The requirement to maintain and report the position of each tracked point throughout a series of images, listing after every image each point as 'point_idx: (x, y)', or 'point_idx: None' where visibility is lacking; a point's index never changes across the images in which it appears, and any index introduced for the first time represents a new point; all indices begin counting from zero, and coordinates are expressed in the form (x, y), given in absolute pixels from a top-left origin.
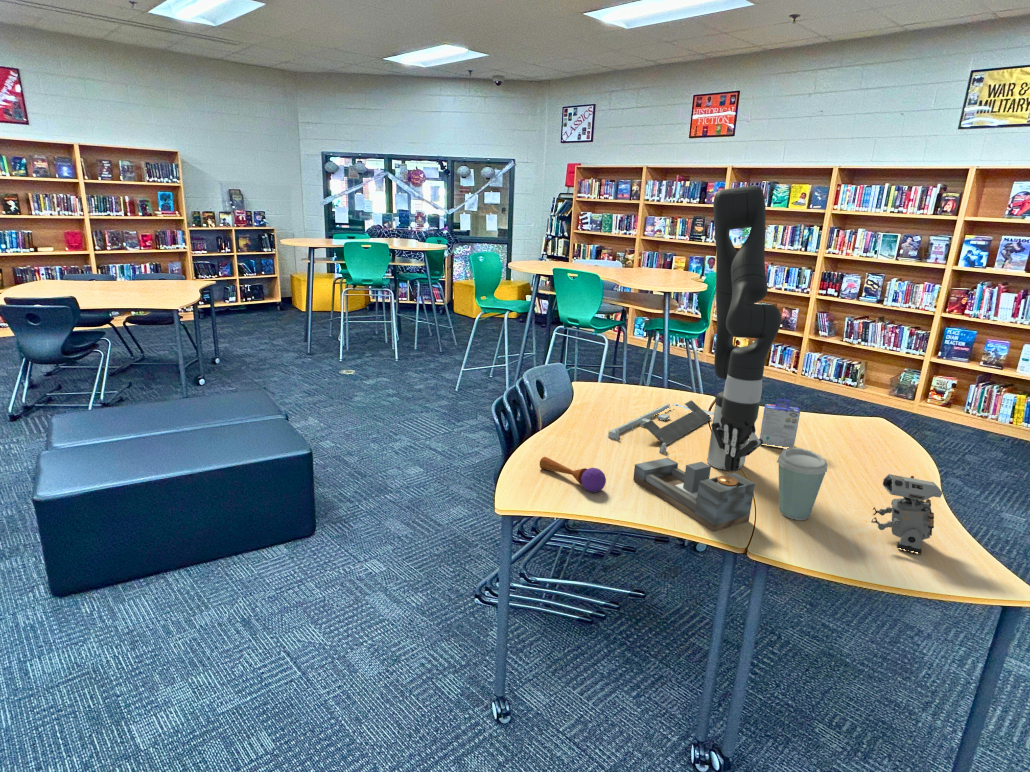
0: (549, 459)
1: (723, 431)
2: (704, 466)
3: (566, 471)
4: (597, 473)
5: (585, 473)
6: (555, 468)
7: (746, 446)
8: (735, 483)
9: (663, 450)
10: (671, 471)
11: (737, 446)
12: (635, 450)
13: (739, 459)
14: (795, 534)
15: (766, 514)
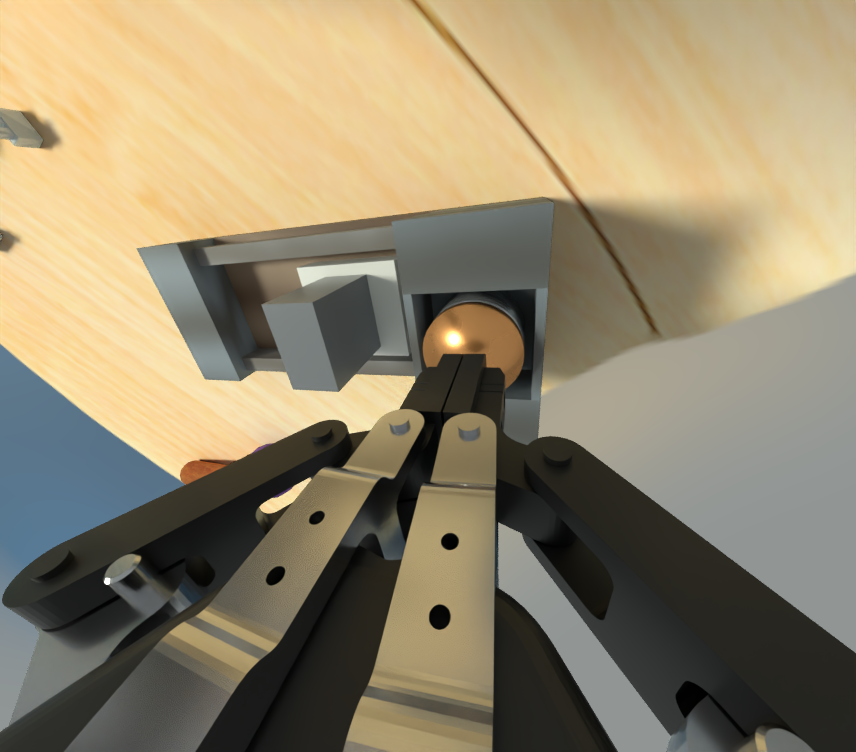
0: (191, 480)
1: (195, 548)
2: (310, 331)
3: None
4: None
5: None
6: None
7: (662, 701)
8: (522, 352)
9: (26, 135)
10: (212, 267)
11: (498, 586)
12: (55, 226)
13: (501, 420)
14: (758, 39)
15: (538, 47)
